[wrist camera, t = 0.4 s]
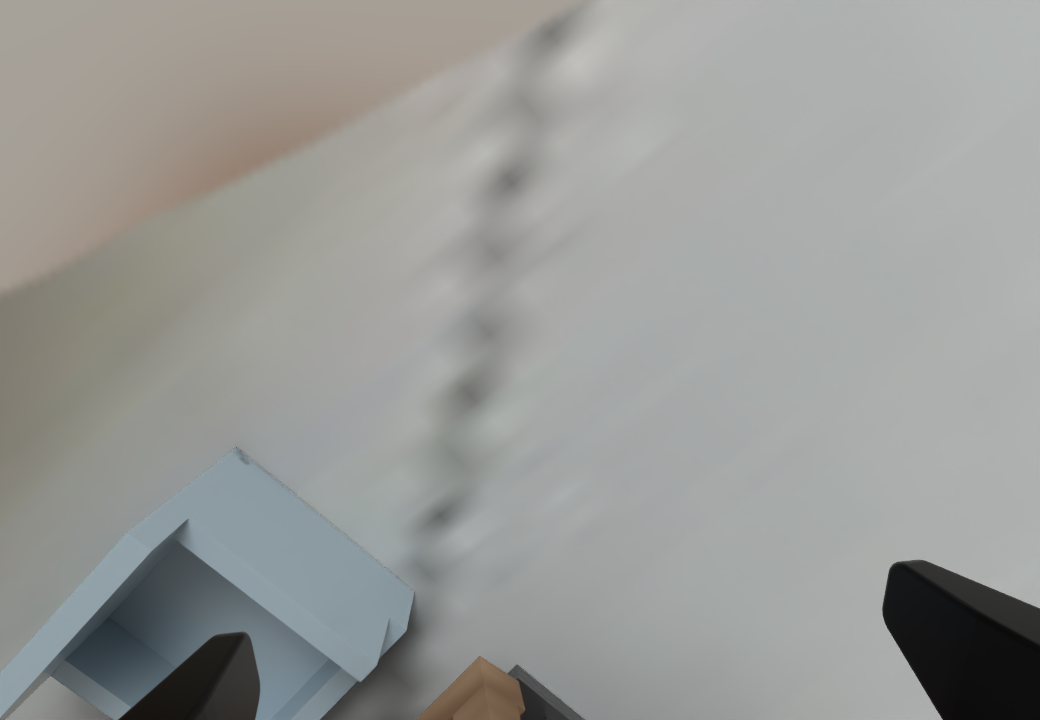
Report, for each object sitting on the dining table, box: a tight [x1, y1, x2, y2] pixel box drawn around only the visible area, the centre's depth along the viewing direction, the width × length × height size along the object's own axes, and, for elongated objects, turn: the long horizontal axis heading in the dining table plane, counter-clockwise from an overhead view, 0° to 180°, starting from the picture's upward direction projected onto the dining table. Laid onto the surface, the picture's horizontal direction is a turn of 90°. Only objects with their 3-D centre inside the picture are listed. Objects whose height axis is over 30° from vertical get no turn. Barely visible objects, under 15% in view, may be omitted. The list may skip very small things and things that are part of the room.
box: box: [0, 447, 414, 720], centre depth 20 cm, size 8×8×7 cm
